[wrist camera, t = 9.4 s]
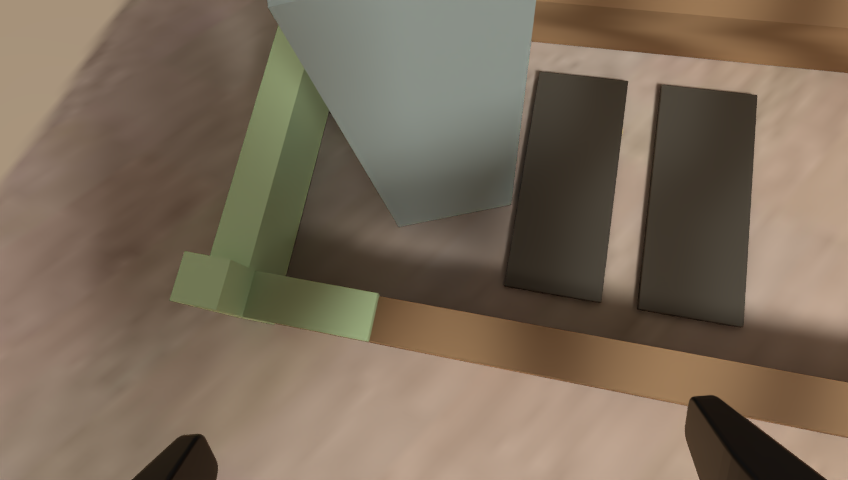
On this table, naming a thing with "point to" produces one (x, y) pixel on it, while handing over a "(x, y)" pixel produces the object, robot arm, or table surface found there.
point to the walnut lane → (592, 211)
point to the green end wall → (261, 190)
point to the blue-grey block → (421, 93)
